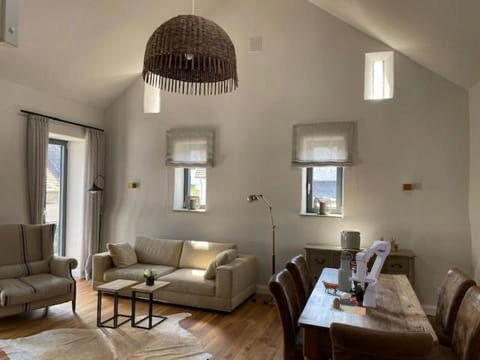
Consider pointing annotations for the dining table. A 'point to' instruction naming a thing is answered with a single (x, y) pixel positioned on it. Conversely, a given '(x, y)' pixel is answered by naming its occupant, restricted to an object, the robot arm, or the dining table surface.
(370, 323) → the dining table surface
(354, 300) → the grey open box
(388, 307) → the dining table surface
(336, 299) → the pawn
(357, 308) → the game board
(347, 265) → the water bottle
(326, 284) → the bull figurine
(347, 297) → the dome
